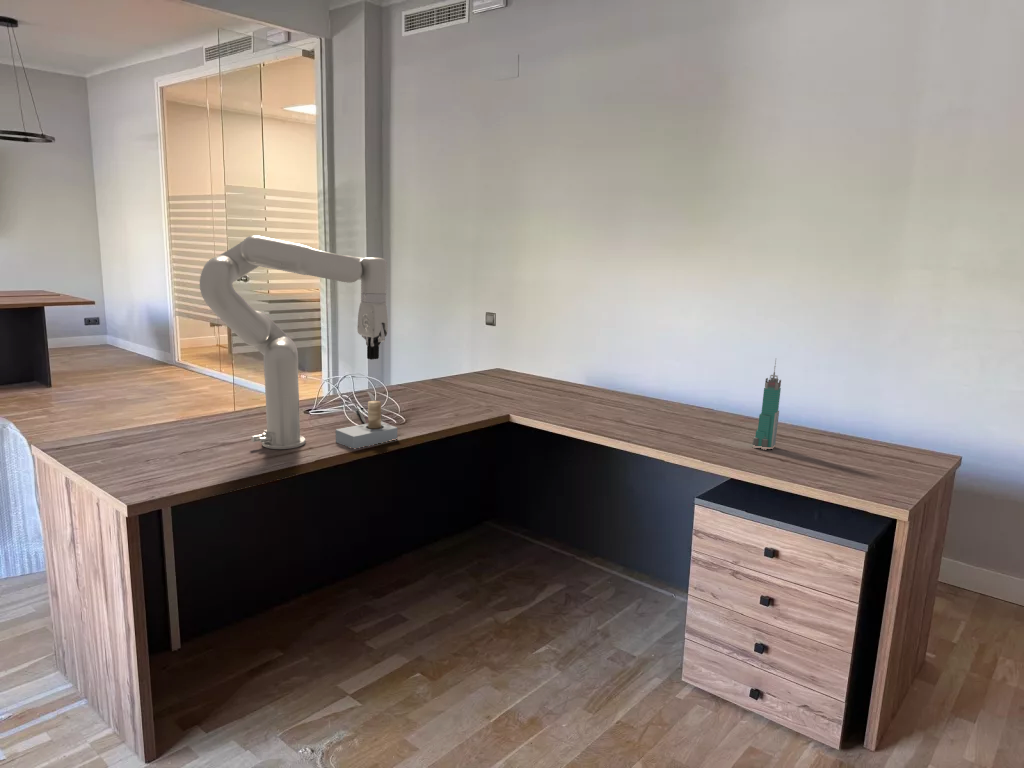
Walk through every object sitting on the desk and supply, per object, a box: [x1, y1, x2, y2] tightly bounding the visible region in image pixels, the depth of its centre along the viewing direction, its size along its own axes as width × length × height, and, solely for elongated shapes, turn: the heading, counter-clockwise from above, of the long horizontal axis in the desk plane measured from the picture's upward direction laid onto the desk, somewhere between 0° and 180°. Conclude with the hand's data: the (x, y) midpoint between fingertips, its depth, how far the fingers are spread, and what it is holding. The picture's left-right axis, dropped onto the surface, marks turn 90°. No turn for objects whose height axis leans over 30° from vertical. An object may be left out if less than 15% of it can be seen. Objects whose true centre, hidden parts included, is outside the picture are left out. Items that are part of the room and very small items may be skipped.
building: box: [752, 359, 782, 447], centre depth 224 cm, size 6×6×30 cm
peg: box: [367, 400, 382, 429], centre depth 221 cm, size 4×4×12 cm
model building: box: [354, 391, 382, 424], centre depth 248 cm, size 7×7×25 cm
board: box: [335, 421, 398, 449], centre depth 219 cm, size 16×10×4 cm, turn 135°
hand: (372, 358), depth 216 cm, fingers closed
